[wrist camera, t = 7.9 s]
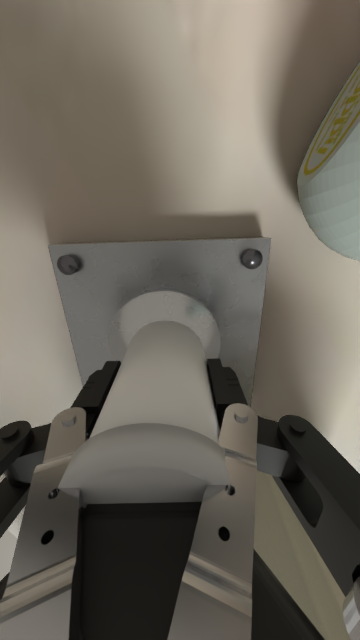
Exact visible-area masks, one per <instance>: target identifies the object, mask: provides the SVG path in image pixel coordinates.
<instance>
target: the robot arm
mask: <svg viewBox="0 0 360 640" xmlns="http://www.w3.org/2000/svg"><path fill="white" fill-rule="evenodd" d="M120 366H121V362H120V361H106V362H105V364H104V366H103V368H102V370H96V371H95V372H94V373H93V374H91V375H90V376H89V378H88V380H87V381H86V384H85V385H84V386H83V389H82V390H81V391H80V393H79V395H78V396H77V398H76V400H75V401H74V403H73V405H72V406H71V408H69V409H66V410H64V411H62V412H60V413H59V414H58V415H57V416H56V417H55V418H54V419H53V421H52V423H50V424H47V425H43V426H39V427H35V428H31V425H30V423H29V422H27V421H16V422H13V423H10V424H8V425H6V426H4V427H2V428H1V429H0V476H1V475H2V474H3V473H4V474H5V476H6V477H5V478H4V479H3V480H2V482H1V483H0V538H1V537H2V535H3V534H4V532H5V531H6V530H7V529H8V527H9V526H10V525H11V523H12V522H13V521H14V519H15V518H16V517H17V515H18V514H19V513H20V511H21V510H22V509H23V508H24V506H25V505H26V506H25V511H24V515H23V519H22V523H21V527H20V531H19V536H18V540H17V544H16V548H15V553H14V557H13V561H12V565H11V569H10V572H9V573H8V574H7V575H6V576H5V577H4V578H3V579H2V580H1V581H0V640H325V639H324V638H323V636H322V635H321V634H320V633H319V631H318V630H317V629H316V627H315V626H314V625H313V624H312V622H311V621H310V620H309V618H308V617H307V616H306V615H305V613H304V612H303V611H302V609H301V608H300V607H299V606H298V604H297V603H296V602H295V601H294V599H293V598H292V597H291V595H290V594H289V593H288V592H287V590H286V589H285V588H284V586H283V585H282V584H281V583H280V581H279V580H278V579H277V577H276V576H275V575H274V574H273V572H272V571H271V570H270V568H269V567H268V566H267V565H266V563H265V562H264V561H263V560H262V558H261V557H260V556H259V554H258V553H257V552H256V551H255V549H254V526H255V503H256V479H257V471H260V472H263V473H266V474H270V475H272V477H273V479H274V480H275V482H276V484H277V485H278V487H279V489H280V490H281V492H282V494H283V495H284V497H285V499H286V500H287V502H288V503H289V505H290V507H291V508H292V510H293V512H294V513H295V515H296V517H297V518H298V520H299V522H300V523H301V525H302V527H303V528H304V530H305V531H306V533H307V535H308V536H309V538H310V540H311V541H312V543H313V545H314V546H315V548H316V550H317V551H318V553H319V555H320V556H321V558H322V559H323V561H324V563H325V564H326V566H327V568H328V569H329V571H330V573H331V574H332V576H333V578H334V579H335V581H336V583H337V584H338V586H339V587H340V589H341V591H342V592H343V594H344V596H345V600H344V602H343V618H344V622H345V626H346V629H347V632H348V635H349V637H350V639H351V640H360V474H359V473H358V472H357V471H356V470H355V469H354V468H353V467H352V466H351V465H350V463H349V462H348V461H347V460H346V459H345V458H344V457H343V456H342V455H341V454H340V453H339V452H338V451H337V450H336V449H335V448H334V447H333V446H332V445H331V444H330V443H329V442H328V441H327V440H326V439H325V438H324V437H323V436H322V435H321V434H320V433H319V432H318V431H317V430H316V428H315V427H314V426H313V425H312V424H310V423H309V422H308V421H307V420H305V419H303V418H301V417H298V416H294V415H286V416H283V417H282V418H281V419H280V420H279V422H276V421H271V420H267V419H264V418H261V417H259V416H258V415H257V414H256V412H255V411H254V410H253V409H252V408H251V407H249V406H248V403H247V401H246V398H245V396H244V393H243V390H242V388H241V386H240V383H239V380H238V378H237V375H236V372H235V371H234V370H232V369H231V368H230V367H223V366H222V363H221V360H220V358H213V359H207V369H208V374H209V379H210V384H211V389H212V394H213V399H214V404H215V409H216V414H217V419H218V424H219V429H220V436H219V440H218V444H219V445H220V446H221V447H222V448H223V449H224V450H225V461H226V466H227V471H228V476H229V481H230V495H228V494H227V491H228V485H206V487H205V491H204V495H203V500H202V502H167V503H116V504H87V506H86V508H83V497H82V494H81V491H80V488H58V486H59V484H60V482H61V480H62V477H63V475H64V473H65V471H66V469H67V467H68V465H69V462H70V460H71V458H72V455H73V453H74V452H75V451H76V449H77V448H78V447H79V446H80V445H81V444H83V443H84V442H85V441H87V440H88V439H89V438H90V436H91V433H92V431H93V429H94V426H95V424H96V422H97V419H98V417H99V415H100V412H101V410H102V408H103V405H104V403H105V401H106V398H107V396H108V394H109V391H110V389H111V387H112V384H113V382H114V380H115V377H116V375H117V373H118V370H119V368H120ZM57 490H58V492H57ZM58 493H59V494H58Z"/></svg>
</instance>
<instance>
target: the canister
mask: <svg viewBox="0 0 360 640" xmlns="http://www.w3.org/2000/svg"><path fill="white" fill-rule="evenodd" d="M254 549H255V551H256V552H257V553H258V554H259V556H260V557H261V558H262V560H263V561H264V562H265V563H266V565H267V566H268V567H269V568H270V570H271V571H272V572H273V574H274V575H275V576H276V577H277V579H278V580H279V581H280V583H281V584H282V585H283V586H284V588H285V589H286V590H287V592H288V593H289V594H290V595H291V597H292V598H293V599H294V601H295V602H296V603H297V604H298V606H299V607H300V608H301V609H302V611H303V612H304V613H305V615H306V616H307V617H308V618H309V620H310V621H311V622H312V624H313V625H314V626H315V627H316V629H317V630H318V631H319V633H320V634H321V635H322V636H323V638H324V639H325V640H351V639H350V637H349V635H348V632H347V629H346V626H345V622H344V618H343V602H344V600H345V596H344V594H343V592H342V591H341V589H340V587H339V586H338V584H337V583H336V581H335V579H334V578H333V576H332V574H331V573H330V571H329V569H328V568H327V566H326V564H325V563H324V561H323V559H322V558H321V556H320V555H319V553H318V551H317V550H316V548H315V546H314V545H313V543H312V541H311V540H310V538H309V536H308V535H307V533H306V531H305V530H304V528H303V527H302V525H301V523H300V522H299V520H298V518H297V517H296V515H295V513H294V512H293V510H292V508H291V507H290V505H289V503H288V502H287V500H286V499H285V497H284V495H283V494H282V492H281V490H280V489H279V487H278V485H277V484H276V482H275V480H274V479H273V477H272V475H270V474H266V473H263V472H260V471H257V479H256V503H255V526H254Z"/></svg>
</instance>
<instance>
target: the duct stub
mask: <svg viewBox="0 0 360 640" xmlns="http://www.w3.org/2000/svg"><path fill="white" fill-rule="evenodd" d="M219 436H220V429H219V424H218V419H217V414H216V409H215V404H214V399H213V394H212V389H211V384H210V379H209V374H208V369H207V363H206V358H205V353H204V349H203V345H202V342H201V340H200V338H199V337H198V336H197V334H196V333H195V332H194V331H193V330H191V329H190V328H189V327H187V326H185V325H183V324H181V323H178V322H174V321H157V322H153V323H150V324H148V325H146V326H144V327H143V328H141V329H140V330H139V331H138V332H137V333H136V334H135V335H134V336H133V338H132V340H131V342H130V344H129V347H128V349H127V351H126V354H125V356H124V359H123V361H122V363H121V366H120V368H119V370H118V373H117V375H116V377H115V380H114V382H113V384H112V387H111V389H110V391H109V394H108V396H107V398H106V401H105V403H104V405H103V408H102V410H101V412H100V415H99V417H98V419H97V422H96V424H95V426H94V429H93V431H92V433H91V436H90V438H89V439H88V440H87V441H85V442H84V443H83V444H81V445H80V446H79V447H78V448H77V449H76V451H75V452H74V453H73V455H72V458H71V460H70V462H69V465H68V467H67V469H66V471H65V473H64V475H63V477H62V480H61V482H60V484H59V486H58V488H80V491H81V494H82V497H83V508H86V506H87V504H116V503H167V502H202V500H203V495H204V491H205V487H206V485H228V491H227V494H228V495H230V481H229V476H228V471H227V466H226V461H225V450H224V449H223V448H222V447H221V446H220V445H219V444H218V440H219ZM57 492H58V490H57ZM58 494H59V493H58Z"/></svg>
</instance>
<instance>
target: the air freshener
mask: <svg viewBox="0 0 360 640" xmlns="http://www.w3.org/2000/svg"><path fill="white" fill-rule="evenodd" d="M297 186H298V195H299V201H300V205H301V208H302V212H303V215H304V217H305V219H306V221H307V223H308V225H309V227H310V228H311V230H312V231H313V232H314V233H315V235H316V236H317V237H318V239H319V240H320V241H322V242H323V243H324V244H325V245H326V246H327V247H329V248H330V249H331V250H333V251H335V252H337V253H339V254H341V255H343V256H345V257H348V258H351V259H355V260H358V261H360V62H359V63H358V65H357V66H356V68H355V69H354V71H353V72H352V74H351V75H350V77H349V78H348V80H347V81H346V83H345V85H344V86H343V88H342V89H341V91H340V92H339V94H338V96H337V97H336V99H335V101H334V102H333V104H332V106H331V107H330V109H329V111H328V113H327V114H326V116H325V118H324V120H323V121H322V123H321V125H320V127H319V129H318V131H317V132H316V134H315V136H314V138H313V140H312V142H311V144H310V146H309V148H308V150H307V153H306V155H305V157H304V160H303V162H302V165H301V167H300V170H299V174H298V179H297Z"/></svg>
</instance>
